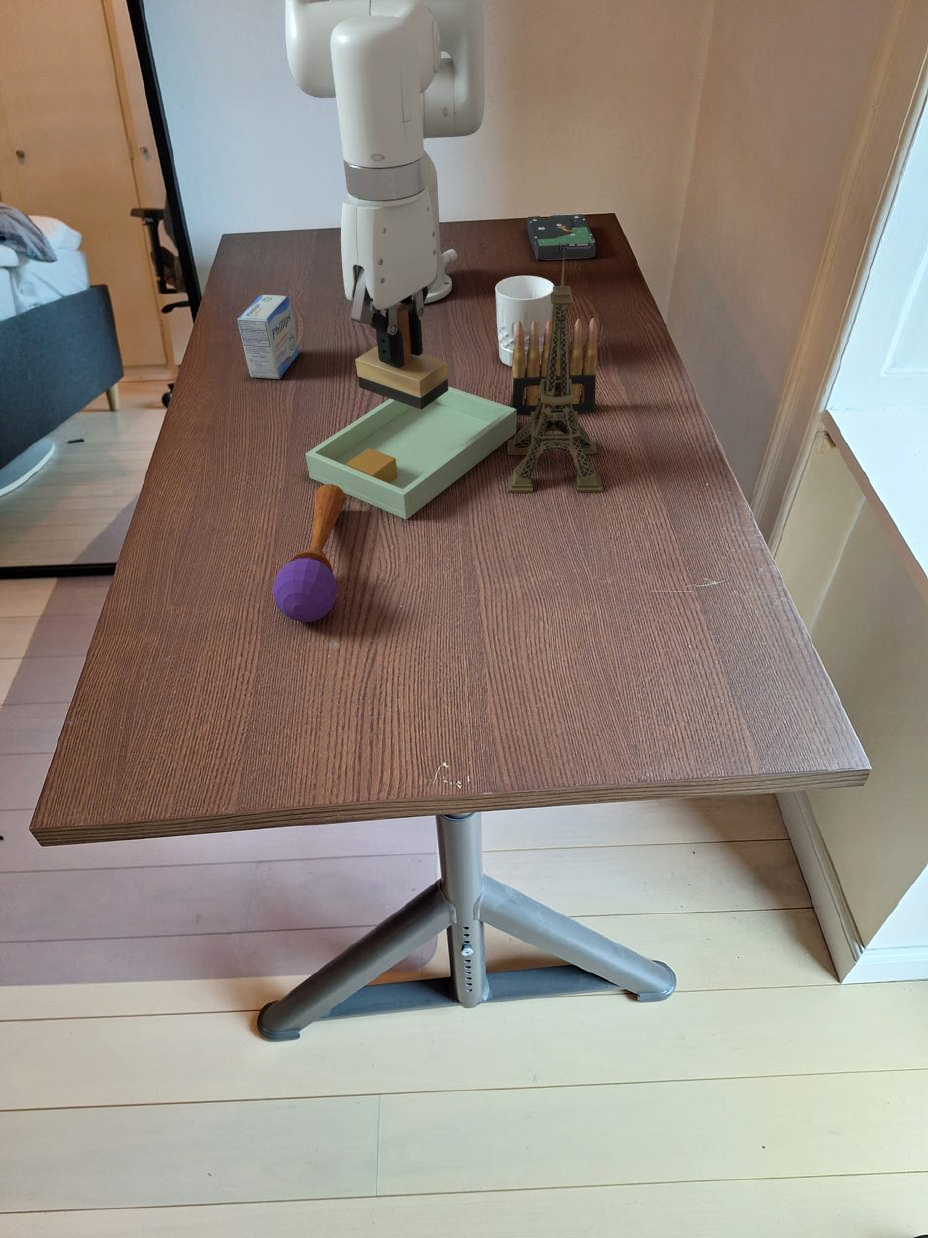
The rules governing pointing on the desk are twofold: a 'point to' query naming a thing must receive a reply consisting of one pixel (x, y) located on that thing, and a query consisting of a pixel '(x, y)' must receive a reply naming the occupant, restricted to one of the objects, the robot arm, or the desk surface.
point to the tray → (414, 448)
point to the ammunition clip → (576, 373)
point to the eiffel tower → (543, 421)
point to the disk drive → (561, 237)
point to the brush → (404, 372)
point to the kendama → (311, 565)
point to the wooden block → (375, 465)
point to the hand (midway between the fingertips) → (400, 356)
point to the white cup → (522, 311)
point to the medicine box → (268, 336)
